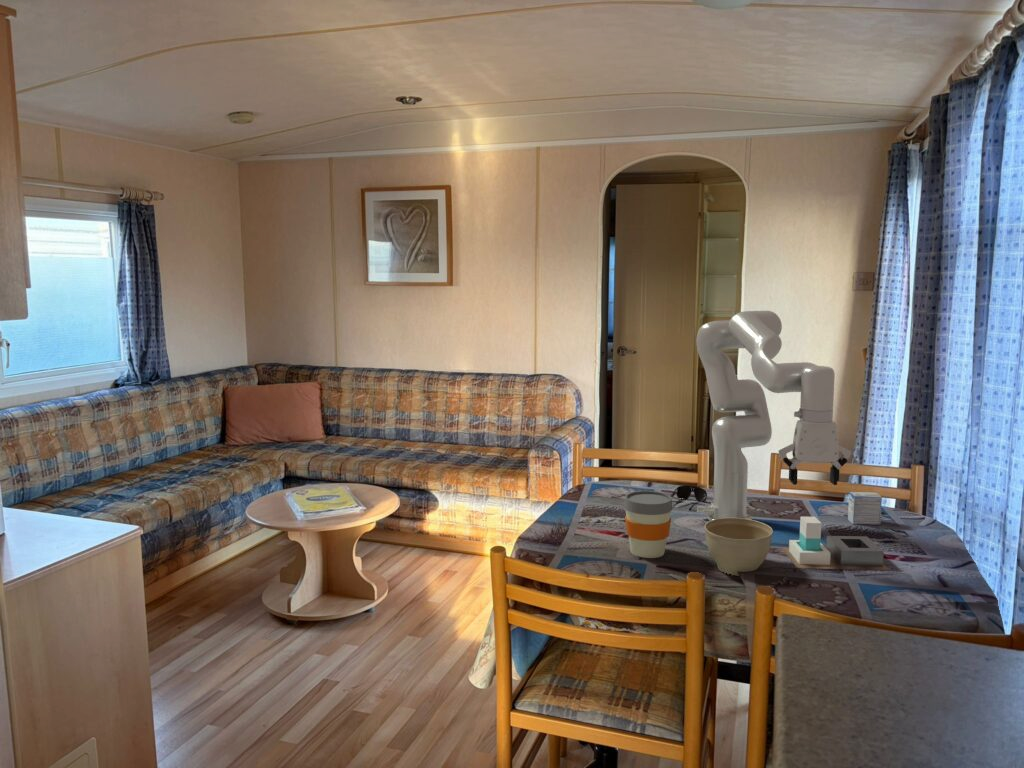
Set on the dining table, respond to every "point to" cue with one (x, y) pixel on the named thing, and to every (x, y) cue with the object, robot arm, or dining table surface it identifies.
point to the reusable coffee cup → (647, 522)
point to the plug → (810, 534)
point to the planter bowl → (738, 543)
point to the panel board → (832, 565)
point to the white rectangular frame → (809, 554)
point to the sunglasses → (686, 491)
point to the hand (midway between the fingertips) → (813, 483)
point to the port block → (855, 551)
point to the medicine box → (864, 508)
